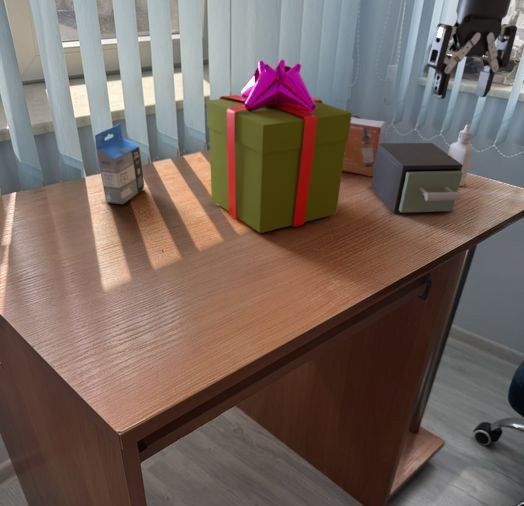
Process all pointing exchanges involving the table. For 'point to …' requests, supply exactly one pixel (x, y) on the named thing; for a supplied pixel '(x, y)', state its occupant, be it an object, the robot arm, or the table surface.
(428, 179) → the drawer
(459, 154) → the eye dropper bottle
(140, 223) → the table surface
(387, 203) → the cabinet
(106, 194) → the label tape box
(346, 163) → the small box
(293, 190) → the gift box
